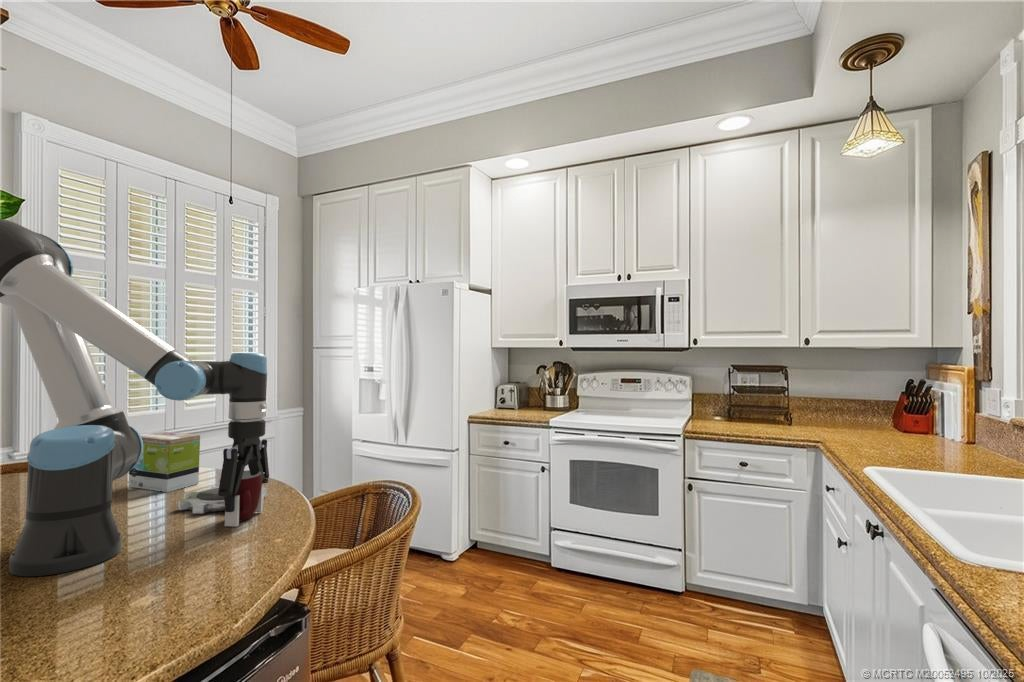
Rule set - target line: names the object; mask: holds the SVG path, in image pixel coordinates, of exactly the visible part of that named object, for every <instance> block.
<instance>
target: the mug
mask: <svg viewBox="0 0 1024 682" xmlns="http://www.w3.org/2000/svg"><path fill="white" fill-rule="evenodd" d="M261 488H262V472H260V471H259V472H258V474H256V475H251V474H250V470H244V472H243V475H242V479H241V482H240V486H239V489H238V493H237V495H240V503H239V522H242V521H243V522H244V521H248V520H250V519H252V517H253V515H254V514H255V513H256V512H255V510H256V508H257V506H258V502H259V498H260V493H261ZM224 502H225V497H224Z"/></svg>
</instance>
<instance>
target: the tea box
mask: <svg viewBox="0 0 1024 682" xmlns="http://www.w3.org/2000/svg"><path fill="white" fill-rule="evenodd" d="M140 436H141V438H142V441H143V452H142V455H141V457H140V459H139V461H138V462H137V463H136V465H135V466H134V467H133V468H132V469H131V470H130V471H129V472H128V488H135V489H142V490H143V489H144V490H148V491H149V490H150V491H154V490H155V491H156V492H160V491H162V493H166V492H167V493H170V492H169V491H171V492H174V491H173V490H175V491H178V490H177V489H179V490H182V489H185V488H184V487H186V488H189V487H188V486H190V487H192V486H191V485H193V486H196V485H198V484H199V479H200V478H199V476H200V475H199V472H200V453H201V448H200V447H201V434H195V433H193V434H192V433H184V432H183V433H181V432H171V431H159V432H150V433H145V434H140ZM195 484H196V485H195ZM181 488H182V489H181Z"/></svg>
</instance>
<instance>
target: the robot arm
mask: <svg viewBox="0 0 1024 682" xmlns="http://www.w3.org/2000/svg"><path fill="white" fill-rule="evenodd" d="M73 274H74V263H73V259H72V258H71V255H70V253H68V251H67V250H66V249H65V248H64V247H63V246H62V245H61V244H59V243H58V242H57V241H56V240H54V239H52V238H51V237H48V236H47V235H45V234H42V233H40V232H39V233H38V232H35V231H33V230H32V229H28V228H27V227H25V226H23V225H21V224H19V223H16V222H14V221H11V220H8V219H4V218H3V219H2V218H0V304H2V305H5V306H7V307H10V308H11V309H12V310H13V312H14V314H15V316H16V319H17V322H18V325H19V326H20V328H21V332H22V334H23V337H24V340H25V341H26V343H27V346H28V348H29V349H28V350H29V351H30V353H31V356H32V359H33V361H34V363H35V366H36V368H37V371H38V373H39V375H40V378H41V380H42V383H43V386H44V388H45V390H46V394H47V396H48V399H49V401H50V402H51V405H52V408H53V410H54V412H55V415H56V417H57V419H58V422H57V423H56V425H55V427H54V428H53V429H51V430H50V429H49V430H47V431H44V432H42V433H39V434H38V435H35V436H34V437H33V438H32V440H31V442H30V444H29V451H28V453H27V456H26V459H27V460H26V461H27V478H26V479H27V482H26V501H25V505H26V506H25V522H24V526H23V528H22V530H21V532H20V535H19V537H18V539H17V543H16V545H15V547H14V548H15V549H14V550H13V551H12V552H11V553H10V556H9V560H8V573H9V574H11V575H13V576H18V577H40V576H41V577H42V576H43V577H44V576H51V575H56V574H57V575H58V574H63V573H68V572H73V571H76V570H81V569H84V568H87V567H91V566H94V565H97V564H100V563H103V562H104V561H107V560H110V559H111V558H113V557H115V556H117V554H118V555H119V553H120V552H121V551H122V543H123V540H122V538H123V537H122V535H121V533H120V532H119V531H118V526H117V522H116V520H115V517H114V514H113V510H112V503H113V502H112V499H113V482H114V481H115V480H117V479H120V478H122V477H124V476H125V475H127V474H129V471H130V470H131V469H132V468H133V467H134V466H135V465H136V463H137V462H138V461H139V459H140V457H141V455H142V452H143V441H142V438H141V436H140V435H141V434H140V433H139V431H138V430H137V429H136V428H134V427H133V426H131V425H130V424H129V422H128V420H127V417H126V415H125V412H124V411H123V409H121V408H118V407H115V406H114V405H112V404H111V402H110V399H109V396H108V393H107V392H106V389H105V386H104V384H103V382H102V379H101V376H100V374H99V371H98V369H97V366H96V362H95V361H94V358H93V356H92V353H91V351H90V349H89V346H88V343H90V344H91V345H93V347H96V349H97V348H98V349H99V350H100V351H102V353H103V352H104V353H105V354H106V355H107V356H110V357H111V358H112V359H114V360H116V361H117V362H119V363H120V364H121V365H123V366H125V367H126V368H128V369H129V370H131V371H132V372H134V373H135V374H137V375H139V376H140V377H141V378H144V379H145V380H146V381H147V382H149V383H150V384H152V385H153V386H155V388H156V390H157V392H158V393H159V394H160V395H161V396H163V397H164V398H166V399H169V400H172V401H187V400H191V399H194V398H195V397H198V396H201V395H204V396H205V395H229V396H228V397H229V399H228V401H229V402H228V403H229V404H228V419H229V420H230V421H229V422H228V424H227V425H228V426H227V428H228V430H227V436H228V438H230V439H232V440H233V443H232V447H230V448H224V449H223V462H222V468H221V475H220V478H219V479H220V480H219V484H218V486H219V491H218V495H219V496H222V497H225V510H224V527H238V526H240V521H239V503H240V495H237V493H238V489H239V486H240V482H241V479H242V475H243V472H244V471H245V469H246V467H248V471H250V474H251V475H256V474H258V472H259V471H260V472H262V488H261V493H260V498H259V502H258V506H257V508H256V510H255V512H254V513H262V512H263V510H264V508H263V507H264V506H263V505H264V503H263V502H264V501H263V487H264V484H268V483H269V478H270V471H269V462H268V461H269V460H268V459H269V458H268V450H267V449H268V448H267V447H268V439H266V438H265V439H262V438H261V437H263V436H265V435H266V420H265V419H264V418H265V417H266V410H267V408H268V407H267V406H268V405H266V404H267V402H266V401H267V388H268V387H267V385H268V363H267V362H268V361H267V359H268V358H267V356H266V355H265V354H264V353H259V352H256V353H255V352H233V353H231V355H230V358H229V359H228V360H226V361H223V360H222V361H212V360H211V361H210V360H208V361H206V360H191V359H190V358H189V357H187V356H186V355H185V354H183V353H182V352H180V351H178V350H176V349H175V347H173V346H171V345H170V344H168V343H166V342H165V341H164V340H162V339H161V338H159V337H158V336H157V335H155V334H154V333H152V332H151V331H149V330H148V329H147V328H145V327H144V326H142V325H141V324H139V323H138V322H136V321H135V320H134V319H132V318H131V317H129V316H128V315H126V314H124V313H123V312H122V311H121V310H119V309H117V308H116V307H115V306H113V305H111V304H110V303H109V302H107V301H105V299H103V298H102V297H100V296H99V295H97V294H96V293H94V292H93V291H91V290H90V289H89V288H87V287H85V286H84V285H83V284H81V283H79V282H78V281H77V280H75V279H74V278H73V277H72V275H73ZM87 342H88V343H87ZM260 438H261V439H260Z"/></svg>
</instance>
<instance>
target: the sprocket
mask: <svg viewBox="0 0 1024 682" xmlns="http://www.w3.org/2000/svg"><path fill="white" fill-rule="evenodd" d="M218 491H219V485H216V486H212V487H210V488H207V489H203V490H199V491H190V492H187V493H185V494H184V498H182V499H180V498H179V499H178V500H177V502H178V504H177V505H178V506H177V507H178V510H179V511H185V510H189V511H192V514H202V515H203V514H205V513H208V512H221V511H225V502H224V497H222V496H219V495H218ZM267 494H268V488H267V487H265V486H263V502H265V497H267Z"/></svg>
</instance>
